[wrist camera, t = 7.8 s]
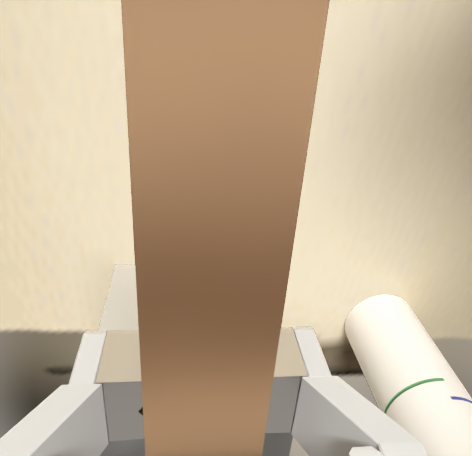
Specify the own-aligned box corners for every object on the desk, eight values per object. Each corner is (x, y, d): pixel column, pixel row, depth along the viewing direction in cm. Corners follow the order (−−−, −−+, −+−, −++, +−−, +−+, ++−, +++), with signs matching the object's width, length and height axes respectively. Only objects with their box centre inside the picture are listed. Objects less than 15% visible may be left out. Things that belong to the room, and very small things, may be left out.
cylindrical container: (390, 351, 48) (554, 653, 27) (333, 340, 47) (458, 651, 25) (423, 302, 45) (639, 598, 24) (363, 288, 44) (536, 593, 22)
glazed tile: (214, 265, 41) (220, 333, 33) (213, 279, 41) (219, 349, 34) (115, 264, 40) (97, 334, 32) (116, 278, 40) (98, 350, 33)
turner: (24, -221, 7) (-142, -434, 3) (390, -175, 8) (566, -314, 4) (116, 538, 17) (98, 677, 14) (265, 527, 18) (285, 656, 15)
